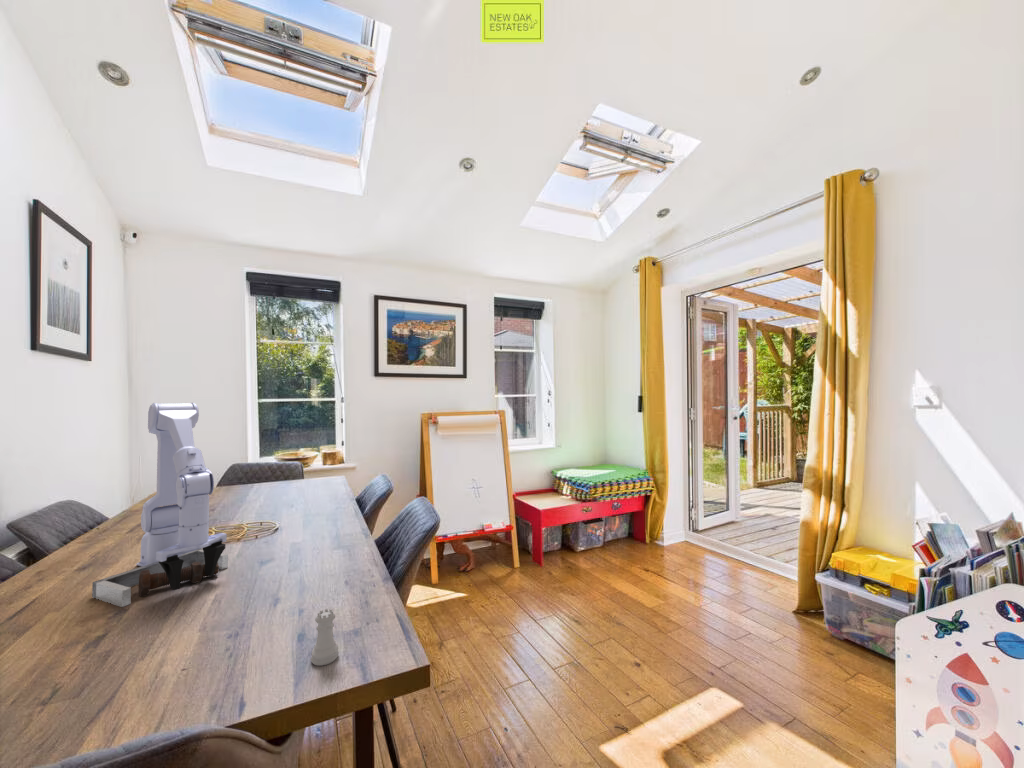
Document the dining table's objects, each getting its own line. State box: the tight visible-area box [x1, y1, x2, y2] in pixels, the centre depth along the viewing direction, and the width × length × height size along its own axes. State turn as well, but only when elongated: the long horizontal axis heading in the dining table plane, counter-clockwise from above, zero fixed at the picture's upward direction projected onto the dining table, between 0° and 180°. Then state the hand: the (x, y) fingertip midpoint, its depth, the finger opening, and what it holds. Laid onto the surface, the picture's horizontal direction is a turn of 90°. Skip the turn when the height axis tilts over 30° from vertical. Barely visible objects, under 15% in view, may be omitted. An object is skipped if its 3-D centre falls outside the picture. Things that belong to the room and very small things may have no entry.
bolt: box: [138, 562, 220, 597], centre depth 103 cm, size 6×5×15 cm
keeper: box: [91, 548, 229, 608], centre depth 104 cm, size 12×23×4 cm, turn 158°
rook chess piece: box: [310, 608, 339, 667], centre depth 74 cm, size 4×4×8 cm
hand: (192, 581), depth 101 cm, fingers open, 7 cm apart
